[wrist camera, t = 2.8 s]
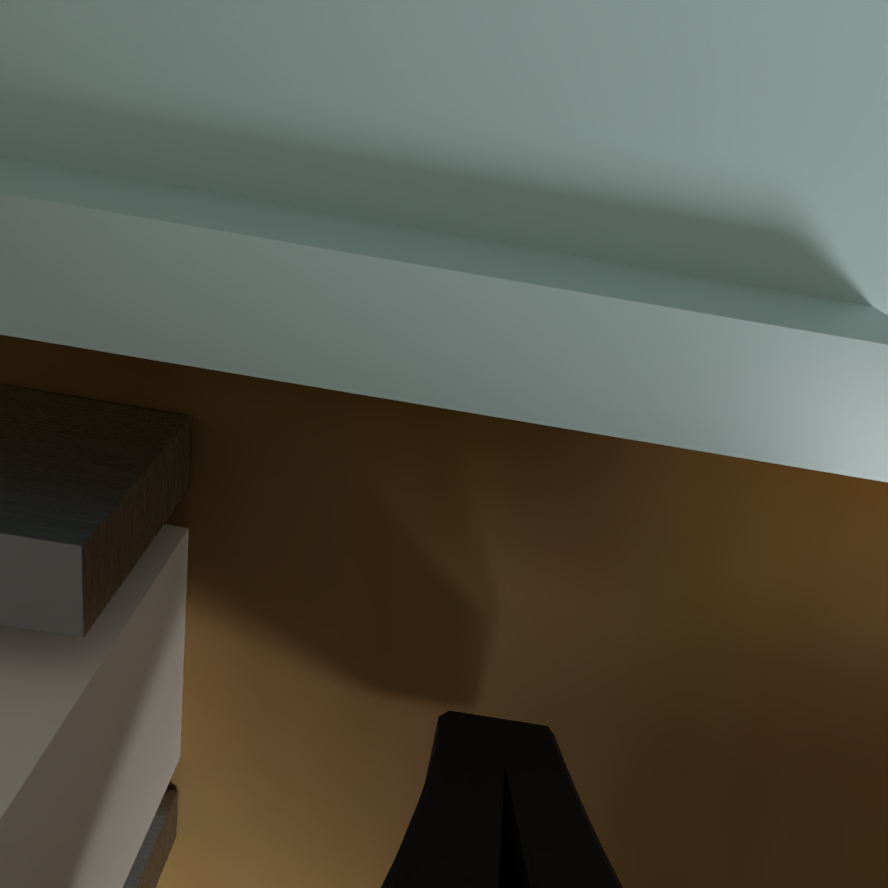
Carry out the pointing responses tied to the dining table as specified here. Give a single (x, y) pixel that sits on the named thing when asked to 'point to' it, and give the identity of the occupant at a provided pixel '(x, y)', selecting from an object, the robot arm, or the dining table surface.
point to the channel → (85, 525)
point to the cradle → (470, 206)
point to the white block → (93, 730)
